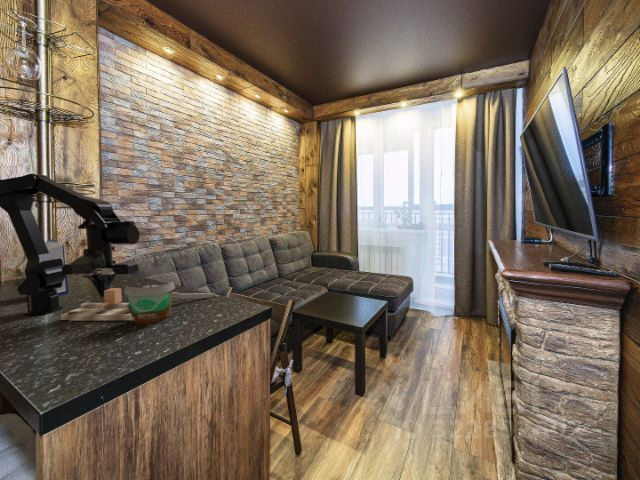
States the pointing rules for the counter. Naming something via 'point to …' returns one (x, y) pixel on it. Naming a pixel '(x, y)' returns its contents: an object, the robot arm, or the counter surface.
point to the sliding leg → (111, 297)
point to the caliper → (190, 295)
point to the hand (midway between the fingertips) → (103, 296)
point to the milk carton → (56, 252)
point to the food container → (150, 303)
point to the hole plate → (99, 312)
